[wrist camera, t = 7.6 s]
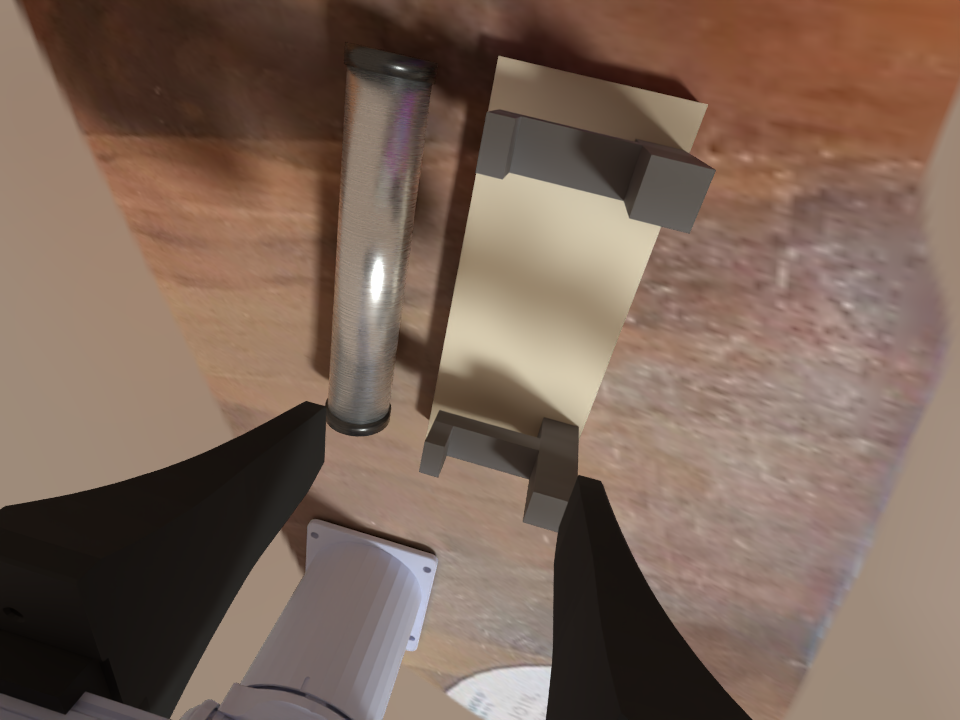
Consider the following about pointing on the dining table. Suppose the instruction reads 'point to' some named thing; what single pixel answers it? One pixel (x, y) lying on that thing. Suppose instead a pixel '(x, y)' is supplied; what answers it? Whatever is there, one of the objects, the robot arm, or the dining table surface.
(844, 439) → the dining table surface
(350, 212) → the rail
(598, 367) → the rack
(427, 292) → the dining table surface
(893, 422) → the dining table surface
